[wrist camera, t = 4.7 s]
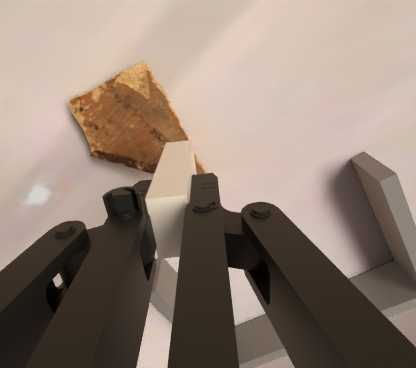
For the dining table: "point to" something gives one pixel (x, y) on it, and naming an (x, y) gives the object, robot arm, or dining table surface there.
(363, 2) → the dining table surface
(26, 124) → the dining table surface
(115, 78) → the shard
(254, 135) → the dining table surface
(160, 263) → the box
